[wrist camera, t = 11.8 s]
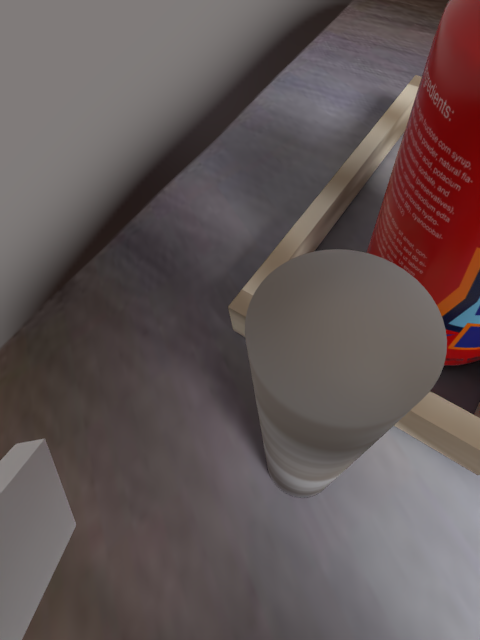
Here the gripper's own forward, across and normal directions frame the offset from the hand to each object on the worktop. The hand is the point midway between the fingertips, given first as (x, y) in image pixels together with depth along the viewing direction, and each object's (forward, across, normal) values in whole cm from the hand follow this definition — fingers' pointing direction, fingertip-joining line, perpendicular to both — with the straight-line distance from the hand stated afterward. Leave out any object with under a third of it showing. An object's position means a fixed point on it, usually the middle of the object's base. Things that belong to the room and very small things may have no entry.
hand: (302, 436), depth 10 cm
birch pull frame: (+12, +9, +1) cm, 15 cm away
